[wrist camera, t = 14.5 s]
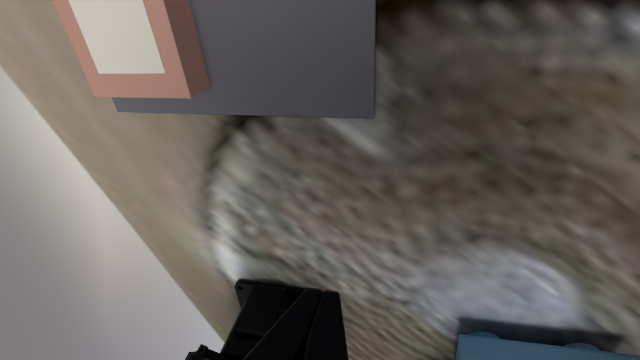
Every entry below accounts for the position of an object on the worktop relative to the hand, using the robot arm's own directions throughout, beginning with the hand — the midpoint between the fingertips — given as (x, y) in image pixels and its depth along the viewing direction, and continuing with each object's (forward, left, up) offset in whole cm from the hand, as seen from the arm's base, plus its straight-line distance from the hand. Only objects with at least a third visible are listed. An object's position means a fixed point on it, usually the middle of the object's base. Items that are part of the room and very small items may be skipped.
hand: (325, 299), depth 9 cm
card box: (+6, +9, -11) cm, 15 cm away
